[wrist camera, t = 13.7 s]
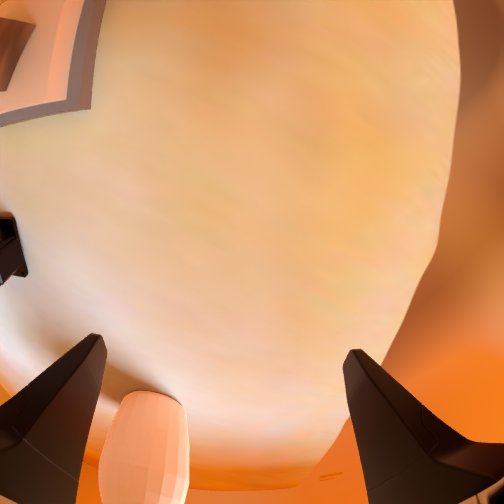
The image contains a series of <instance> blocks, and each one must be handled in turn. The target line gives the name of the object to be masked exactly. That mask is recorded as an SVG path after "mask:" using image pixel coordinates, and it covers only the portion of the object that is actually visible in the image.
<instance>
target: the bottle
mask: <svg viewBox="0 0 504 504" xmlns="http://www.w3.org/2000/svg"><path fill="white" fill-rule="evenodd" d="M188 485H189V438H188V427H187V415H186V412H185V410H184V409H183V407H182V406H181V405H180V404H179V403H178V402H177V401H175V400H173V399H172V398H170V397H168V396H165V395H162V394H160V393H155V392H151V391H133V392H131V393H129V394H127V395H126V396H125V397H124V398H123V400H122V402H121V404H120V406H119V408H118V410H117V413H116V415H115V417H114V419H113V421H112V423H111V426H110V428H109V431H108V434H107V437H106V441H105V444H104V447H103V451H102V454H101V458H100V461H99V488H100V494H101V500H102V504H184V502H185V498H186V494H187V489H188Z"/></svg>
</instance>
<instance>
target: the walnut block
mask: <svg viewBox="0 0 504 504" xmlns="http://www.w3.org/2000/svg"><path fill="white" fill-rule="evenodd" d="M35 27H36V25H35V24H31V23H27V22H22V21H17V20H12V19H7V18H1V17H0V92H3V91H7V88H8V85H9V82H10V80H11V77H12V75H13V72H14V70H15V67H16V65H17V63H18V61H19V58H20V56H21V54H22V52H23V50H24V48H25V46H26V44H27V42H28V40H29V38H30V36H31V34H32V32H33V30H34V28H35Z"/></svg>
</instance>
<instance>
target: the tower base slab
mask: <svg viewBox="0 0 504 504" xmlns="http://www.w3.org/2000/svg"><path fill="white" fill-rule="evenodd" d="M105 4H106V0H84V4H83V7H82V11H81V15H80V18H79V23H78V27H77V31H76V36H75V41H74V46H73V51H72V57H71V64H70V71H69V78H68V87H67V98H66V100H61V101H55V102H50V103H44V104H39V105H35V106H30V107H26V108H21V109H17V110H13V111H9V112H6V113H2V114H0V127H3V126H7V125H10V124H14V123H18V122H22V121H26V120H30V119H35V118H40V117H44V116H49V115H55V114H60V113H66V112H73V111H79V110H87V109H91V97H92V84H93V74H94V65H95V57H96V50H97V44H98V38H99V32H100V27H101V22H102V17H103V12H104V8H105Z"/></svg>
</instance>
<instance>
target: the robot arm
mask: <svg viewBox="0 0 504 504" xmlns="http://www.w3.org/2000/svg"><path fill="white" fill-rule="evenodd" d="M12 275H14V276H19V277H26V276H27V275H28V270H27V267H26V263H25V260H24V256H23V252H22V249H21V245H20V240H19V236H18V232H17V227H16V222H15V220H14V218H12V217H0V286H1V285H3V284H4V283H5V282H6V281H7V280H8V279H9V278H10V277H11V276H12ZM106 358H107V349H106V346H105V343H104V340H103V337H102V336H101V335H100V334H94V333H91V334H89V335H88V336H87V337H85V338H84V339H83V340H82V341H80V342H79V343H78V344H77V345H75V346H74V347H73V348H72V349H70V350H69V351H68V352H67V353H65V354H64V355H63V356H62V357H61V358H59V359H58V360H57V361H56V362H54V363H53V364H52V365H51V366H50V367H48V368H47V369H46V370H45V371H43V372H42V373H41V374H40V375H39V376H37V377H36V378H35V379H34V380H33V381H31V382H30V383H29V384H28V385H27V386H25V387H24V388H23V389H22V390H21V391H20V392H18V393H17V394H16V395H15V396H13V397H12V398H11V399H9V400H8V401H7V402H5V403H4V404H3V405H1V406H0V504H75V503H76V496H77V490H78V484H79V482H78V481H79V477H80V472H81V467H82V462H83V457H84V452H85V447H86V443H87V439H88V435H89V430H90V426H91V423H92V419H93V415H94V411H95V408H96V404H97V400H98V397H99V393H100V389H101V384H102V379H103V373H104V368H105V363H106ZM343 373H344V381H345V388H346V396H347V403H348V407H349V411H350V416H351V420H352V423H353V428H354V432H355V437H356V441H357V445H358V450H359V455H360V460H361V464H362V469H363V474H364V479H365V484H366V490H367V496H368V501H369V504H504V443H482V442H474V441H471V440H468V439H466V438H465V437H463V436H462V435H461V434H459V433H458V432H456V431H455V430H454V429H452V428H451V427H450V426H448V425H447V424H446V423H444V422H443V421H442V420H440V419H439V418H438V417H436V416H435V415H434V414H432V412H431V411H430V410H428V409H427V408H426V407H425V406H424V405H422V403H421V402H419V401H418V400H417V399H416V398H415V397H414V396H413V395H412V394H411V393H409V392H408V391H407V390H406V389H405V388H404V387H403V386H402V385H401V384H399V383H398V382H397V381H396V380H395V379H394V378H393V377H392V376H391V375H390V374H388V373H387V372H386V371H385V370H384V369H383V368H382V367H381V366H380V365H378V364H377V363H376V362H375V361H374V360H373V359H372V358H371V357H370V356H368V355H367V354H366V353H365V352H364V351H363V350H361V349H352V350H350V351H349V353H348V355H347V357H346V359H345V361H344V363H343Z"/></svg>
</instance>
